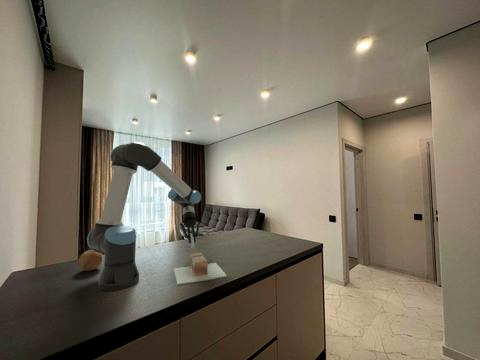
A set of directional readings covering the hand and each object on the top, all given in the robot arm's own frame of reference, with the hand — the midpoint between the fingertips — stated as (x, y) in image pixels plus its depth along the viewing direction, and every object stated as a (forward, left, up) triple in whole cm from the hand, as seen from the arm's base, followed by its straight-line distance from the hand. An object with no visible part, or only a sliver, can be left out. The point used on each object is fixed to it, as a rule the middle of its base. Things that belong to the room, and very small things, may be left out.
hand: (193, 247), depth 116 cm
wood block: (-4, -7, -4) cm, 9 cm away
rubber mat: (-8, -17, -7) cm, 20 cm away
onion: (-42, +27, -8) cm, 51 cm away
